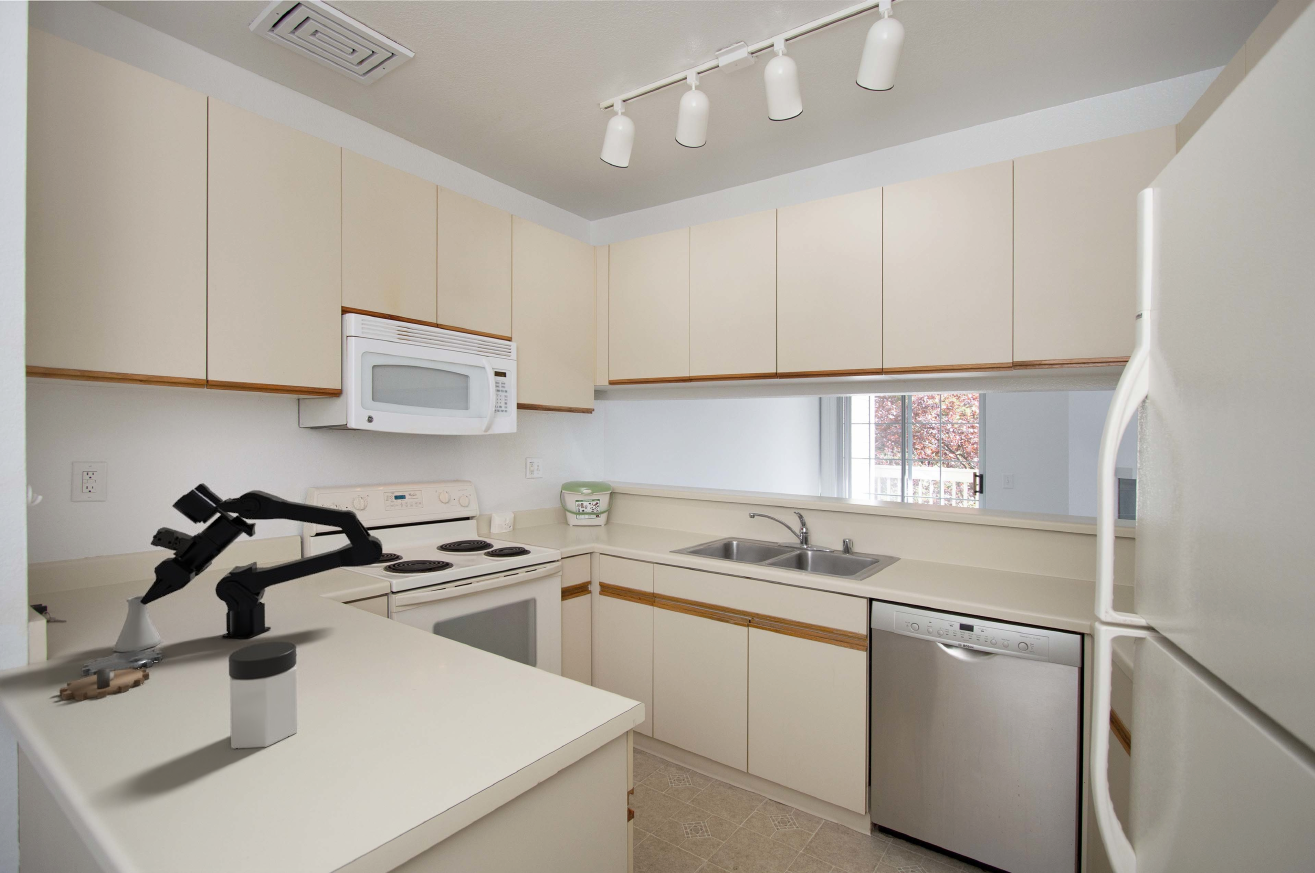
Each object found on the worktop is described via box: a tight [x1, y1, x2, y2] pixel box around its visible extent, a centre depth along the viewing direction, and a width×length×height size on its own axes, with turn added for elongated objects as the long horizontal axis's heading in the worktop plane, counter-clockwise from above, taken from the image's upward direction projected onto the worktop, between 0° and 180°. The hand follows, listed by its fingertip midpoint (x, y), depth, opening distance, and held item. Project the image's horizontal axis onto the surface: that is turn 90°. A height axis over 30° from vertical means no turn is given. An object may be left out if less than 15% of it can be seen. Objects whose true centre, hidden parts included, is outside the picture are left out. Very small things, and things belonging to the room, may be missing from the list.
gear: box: [81, 648, 163, 677], centre depth 115 cm, size 11×11×1 cm
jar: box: [228, 640, 299, 750], centre depth 88 cm, size 9×8×12 cm
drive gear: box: [59, 667, 150, 702], centre depth 105 cm, size 11×11×4 cm
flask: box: [112, 595, 163, 653], centre depth 125 cm, size 7×7×10 cm
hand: (150, 597), depth 125 cm, fingers open, 9 cm apart
